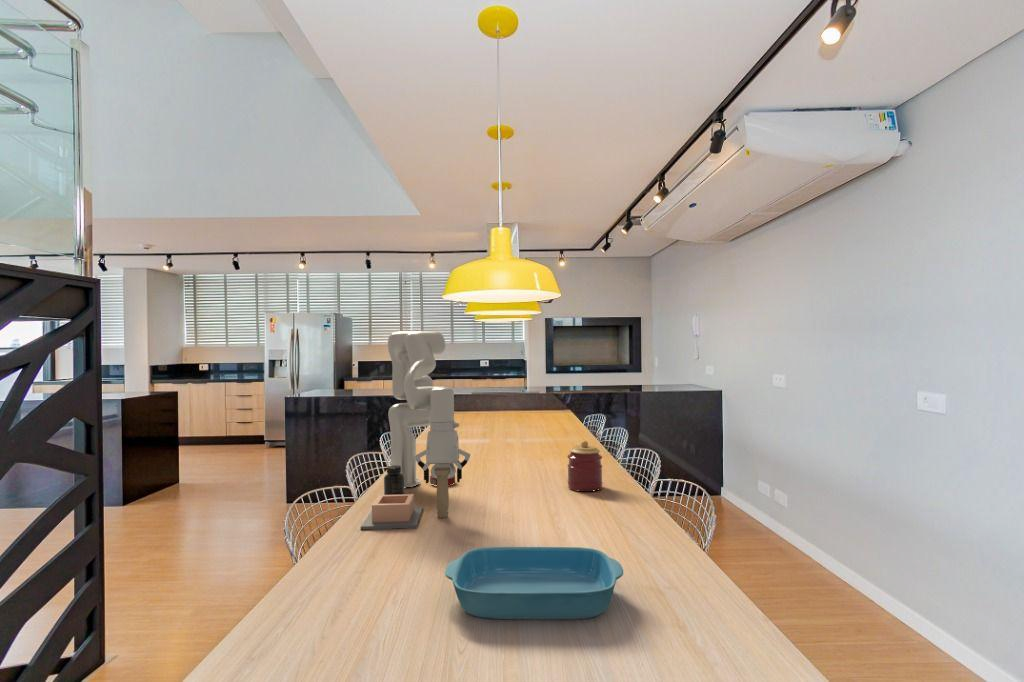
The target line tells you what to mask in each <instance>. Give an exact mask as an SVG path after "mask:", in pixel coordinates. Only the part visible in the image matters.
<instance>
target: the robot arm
mask: <svg viewBox="0 0 1024 682" xmlns="http://www.w3.org/2000/svg"><path fill="white" fill-rule="evenodd" d="M387 348H388V349H387V350H388V354H389V357H390V360H391V365H392V378H391V379H392V381H391V382H392V383H391V384H392V385H391V386H392V387H391V388H392V395H393V398H395V399H396V400H401V401H402V400H403V401H404V400H405V401H406V402H401V403H395V404H393V405H392V406H390V408H389V409H388V412H387V413H388V421H389V428H390V466H394V465H398V466H401V472H400V473H401V474H403V476H404V487H412V488H414V487H413V486H416V485H418V484H419V485H420V484H421V480H420V479H419V478H417V465H418V466H419V467H420V468H421V469H422V470H423V481H425V483H426V484H428V483H430V469H429V467H430V466H431V465H435V464H454V466H455V467H456V468H457V469H456V482H457V483H460V480H463V479H462V478H463V474H462V473H463V472H462V471H463V470H462V469H463V468H464V467H465V466H466V465H467V463H468V462H469V460H470V458H471V454H470V453H469V452H467V451H465V450H464V449H461V448H460V446H459V435H458V430H457V429H456V428H459V427H460V423H459V422H456V421H455V394H454V389H453V388H451V387H447V386H445V385H435V384H434V381H433V379H432V378H431V376H429V374H431V373H432V372H433V371H434V370H435V368H436V367H437V362H436V359H435V357H434V355H441V354H443V353H444V352H445V349H446V340H445V336H444V335H443V334H442V333H441V332H440V331H433V330H431V331H430V330H429V331H428V330H426V331H425V330H419V331H417V330H415V331H394V332H392V333H390V335H389V336H388V339H387ZM427 426H428V427H429V429H430V430H429V431H428V432H427V436H426V437H427V438H426V446H425V449H424V450H422V451H421V452H419V453H417V440H416V436H415V434H414V433H413V432H412V431H411V428H418V427H427ZM455 429H456V430H455ZM460 455H461V456H463V457H464V459H463V460H462V461H460V460H459V459H460ZM424 456H425V461H426V463H424V461H422V459H421V458H422V457H424ZM419 485H418V486H419ZM416 487H417V486H416Z"/></svg>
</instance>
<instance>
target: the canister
mask: <svg viewBox="0 0 1024 682" xmlns="http://www.w3.org/2000/svg"><path fill="white" fill-rule="evenodd" d="M569 452H570V453H569V454H568V455H567V458H568V464H567V466H566V467H567V475H568V476H567V485H568V486H567V488H568V489H569V488H570V490H571V489H573V490H572V491H574V490H579V491H593V490H598V489H601V488H602V489H603V483H604V482H603V464H602V461H601V460H602V458H603V456H602V455H601V454H600V452H601V450H600V449H599V448H598V447H596V446H595V445H589V443H588V441H587V440H582V441H581V443H580V445H574V446H573V447H571V448H570V449H569ZM602 489H601V490H602ZM579 491H578V492H579Z"/></svg>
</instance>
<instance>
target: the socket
mask: <svg viewBox="0 0 1024 682" xmlns="http://www.w3.org/2000/svg"><path fill="white" fill-rule="evenodd" d="M422 510H423V511H424V506H415V494H414V493H408V494H406V493H404V494H403V495H384V494H378V496H377V497H376V498H375V500H374V502H373V503H372V504H371V510H370V512H369V514H368V515H367V517H366V518H365V519H364V521H363V522H362V524H361V526H360V530H361V529H377V530H395V529H394V528H411V529H417V527H418V525H419V522H420V518H421V516H422V514H423V511H422ZM421 513H422V514H421ZM418 521H419V522H418ZM417 524H418V525H417ZM392 528H393V529H392Z"/></svg>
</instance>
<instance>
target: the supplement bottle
mask: <svg viewBox="0 0 1024 682" xmlns="http://www.w3.org/2000/svg"><path fill="white" fill-rule="evenodd" d="M400 472H401V466H398V465H394V466H391V465H388V466H386V474H385V475H384V477H383V495H403V494H405V488H404V476H403V474H401V473H400Z"/></svg>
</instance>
